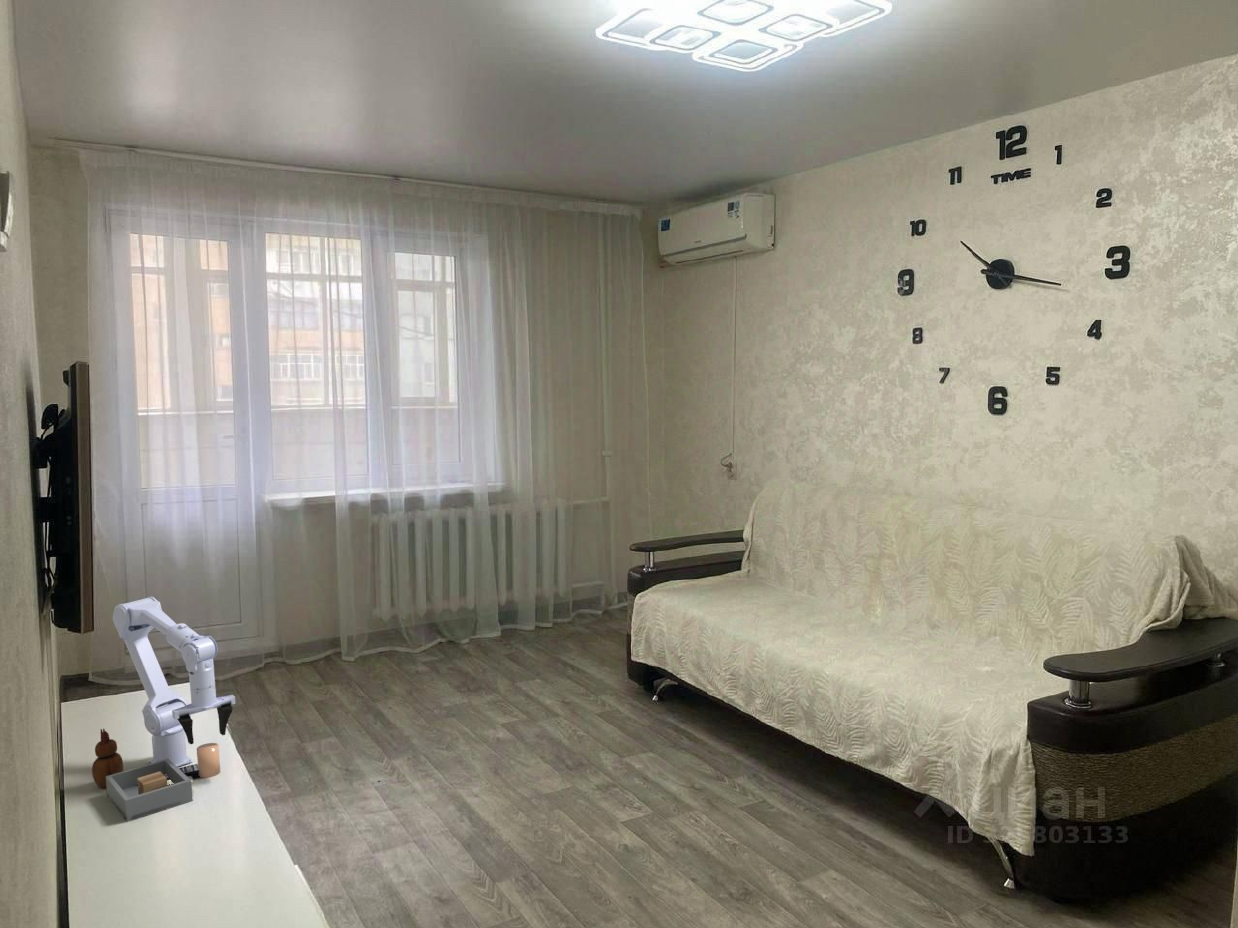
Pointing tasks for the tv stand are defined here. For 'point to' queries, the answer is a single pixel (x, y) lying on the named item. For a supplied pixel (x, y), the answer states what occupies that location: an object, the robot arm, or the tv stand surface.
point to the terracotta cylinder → (208, 760)
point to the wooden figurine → (106, 760)
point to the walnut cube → (151, 782)
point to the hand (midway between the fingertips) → (206, 738)
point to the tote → (136, 806)
